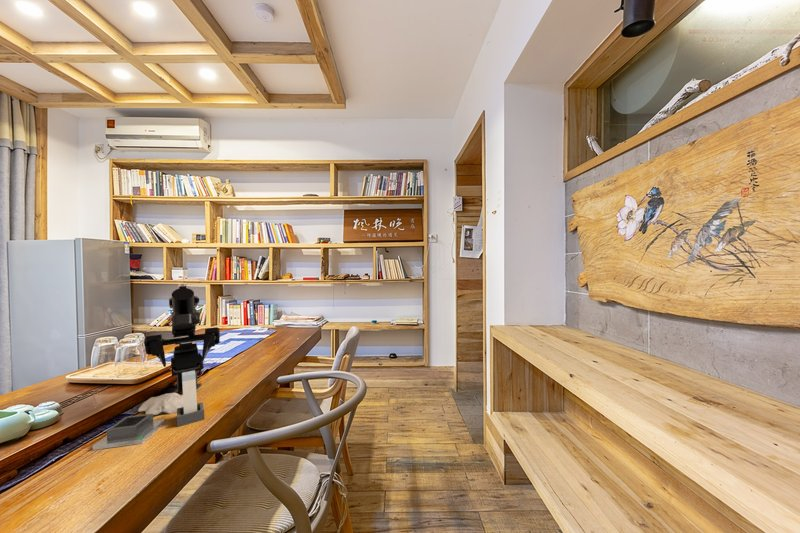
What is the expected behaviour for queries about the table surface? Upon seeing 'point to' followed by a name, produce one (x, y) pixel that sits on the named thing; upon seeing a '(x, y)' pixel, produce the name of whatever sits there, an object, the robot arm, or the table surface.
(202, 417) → the grey hollow square frame
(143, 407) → the decorative stone
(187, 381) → the plug
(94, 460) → the table surface
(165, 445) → the table surface
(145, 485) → the table surface
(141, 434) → the port
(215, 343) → the robot arm
